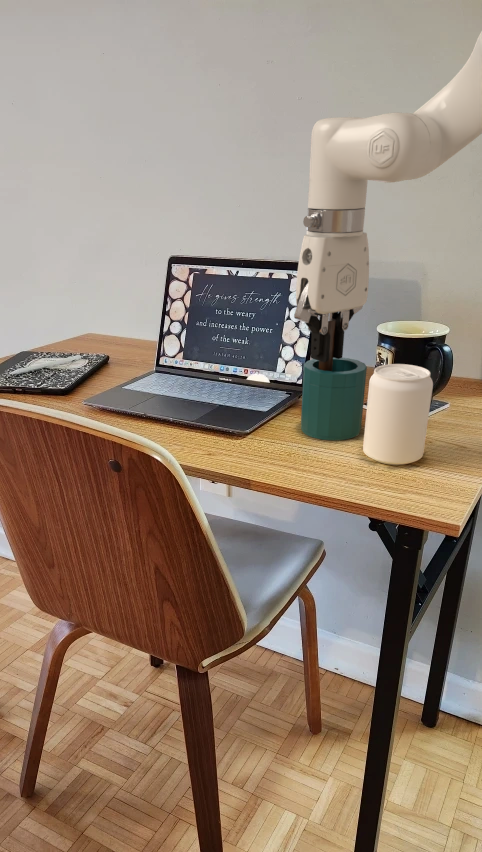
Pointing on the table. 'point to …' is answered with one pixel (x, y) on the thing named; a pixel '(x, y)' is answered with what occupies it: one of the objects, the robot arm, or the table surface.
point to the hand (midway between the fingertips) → (326, 357)
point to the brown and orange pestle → (331, 330)
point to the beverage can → (397, 413)
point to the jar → (333, 399)
